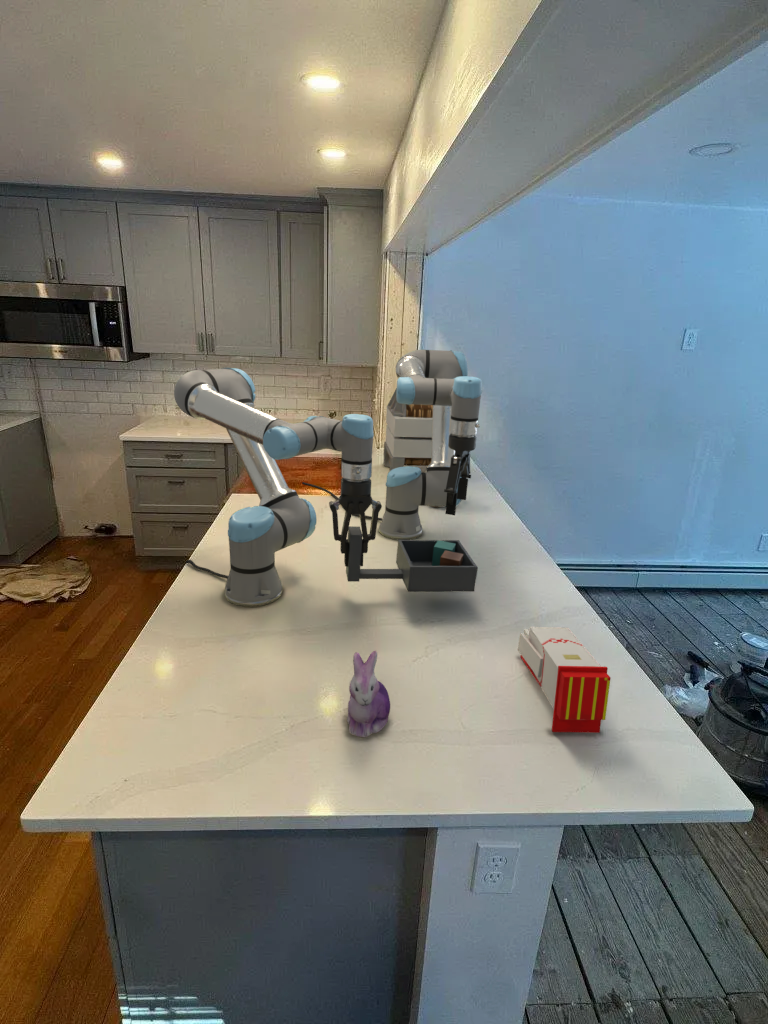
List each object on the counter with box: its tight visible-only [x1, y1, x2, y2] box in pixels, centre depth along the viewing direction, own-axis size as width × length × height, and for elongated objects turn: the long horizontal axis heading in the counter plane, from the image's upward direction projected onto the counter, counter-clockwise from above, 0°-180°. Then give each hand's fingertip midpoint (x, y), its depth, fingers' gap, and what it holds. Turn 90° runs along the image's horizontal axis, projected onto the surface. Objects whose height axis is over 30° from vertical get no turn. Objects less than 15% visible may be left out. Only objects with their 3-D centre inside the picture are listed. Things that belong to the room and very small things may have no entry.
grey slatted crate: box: [383, 387, 433, 472], centre depth 268 cm, size 34×33×41 cm
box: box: [345, 525, 478, 593], centre depth 150 cm, size 32×18×13 cm, turn 99°
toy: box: [517, 626, 611, 734], centre depth 119 cm, size 12×13×30 cm
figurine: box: [346, 650, 391, 738], centre depth 106 cm, size 9×10×15 cm
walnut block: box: [440, 550, 463, 566], centre depth 149 cm, size 5×5×7 cm
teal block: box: [432, 539, 456, 566], centre depth 155 cm, size 5×5×7 cm
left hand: (353, 563), depth 148 cm, fingers closed on box, 3 cm apart
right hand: (456, 506), depth 164 cm, fingers open, 13 cm apart
